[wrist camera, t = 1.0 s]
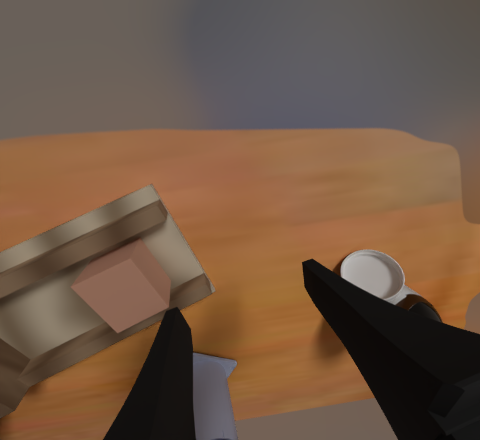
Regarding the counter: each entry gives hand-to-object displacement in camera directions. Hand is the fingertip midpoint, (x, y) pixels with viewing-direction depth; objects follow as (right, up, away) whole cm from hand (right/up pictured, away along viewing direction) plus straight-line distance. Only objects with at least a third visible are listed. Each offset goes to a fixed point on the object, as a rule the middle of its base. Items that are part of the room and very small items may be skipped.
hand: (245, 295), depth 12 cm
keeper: (-11, -1, +10) cm, 15 cm away
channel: (-15, -3, +10) cm, 18 cm away
